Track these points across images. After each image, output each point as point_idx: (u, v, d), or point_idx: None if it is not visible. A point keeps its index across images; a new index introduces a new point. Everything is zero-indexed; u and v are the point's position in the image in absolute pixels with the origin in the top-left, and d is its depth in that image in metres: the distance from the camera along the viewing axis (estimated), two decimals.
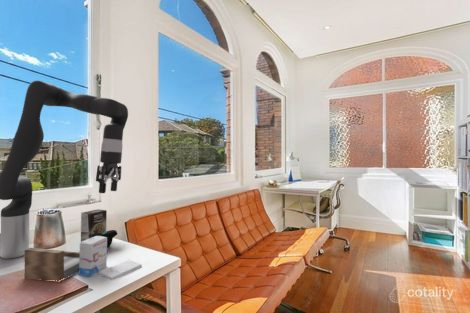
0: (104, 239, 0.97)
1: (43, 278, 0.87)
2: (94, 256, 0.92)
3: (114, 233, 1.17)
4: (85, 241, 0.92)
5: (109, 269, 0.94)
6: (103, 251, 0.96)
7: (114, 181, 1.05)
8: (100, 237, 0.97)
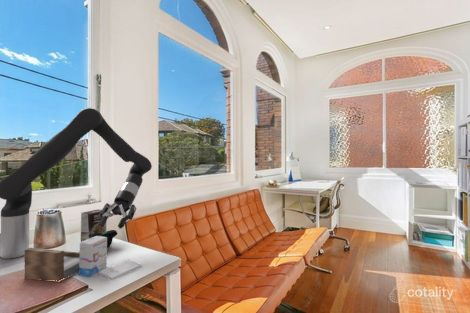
0: (104, 239, 0.97)
1: (43, 278, 0.87)
2: (94, 256, 0.92)
3: (114, 233, 1.17)
4: (85, 241, 0.92)
5: (109, 269, 0.94)
6: (103, 251, 0.96)
7: (106, 217, 1.07)
8: (100, 237, 0.97)
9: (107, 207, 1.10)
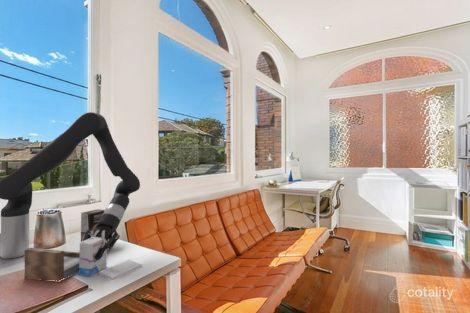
0: None
1: (43, 278, 0.87)
2: (94, 256, 0.92)
3: None
4: (85, 241, 0.92)
5: (109, 269, 0.94)
6: None
7: None
8: (100, 237, 0.97)
9: (89, 234, 0.99)
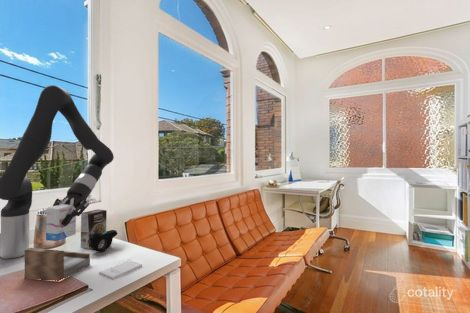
0: None
1: (43, 278, 0.87)
2: (61, 222, 0.92)
3: (114, 233, 1.17)
4: (52, 207, 0.93)
5: (110, 269, 0.94)
6: None
7: None
8: None
9: (58, 202, 1.00)
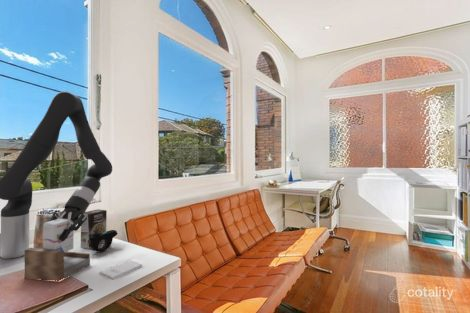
0: None
1: (43, 278, 0.87)
2: (58, 237, 0.91)
3: (114, 233, 1.17)
4: (49, 222, 0.92)
5: (110, 269, 0.94)
6: None
7: None
8: (66, 219, 0.97)
9: (56, 216, 0.99)
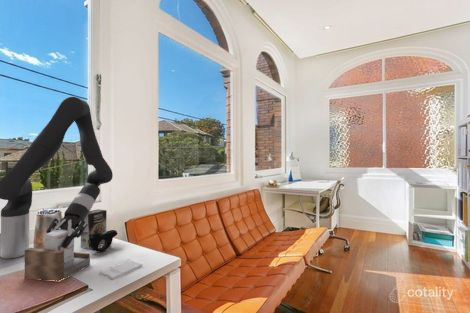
0: None
1: (43, 278, 0.87)
2: (59, 248, 0.91)
3: (114, 233, 1.17)
4: (50, 233, 0.92)
5: (110, 269, 0.94)
6: (70, 243, 0.96)
7: None
8: None
9: (55, 223, 0.99)
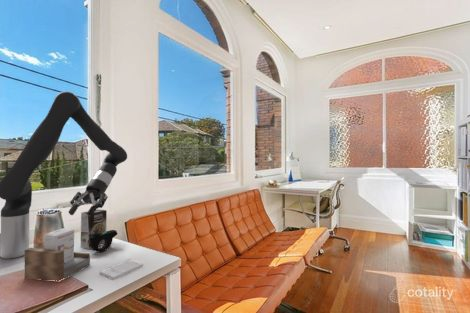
0: (71, 231, 0.96)
1: (43, 278, 0.87)
2: (59, 248, 0.91)
3: (114, 233, 1.17)
4: (50, 233, 0.92)
5: (110, 269, 0.94)
6: (70, 243, 0.96)
7: (76, 206, 1.07)
8: (67, 229, 0.97)
9: (78, 196, 1.10)
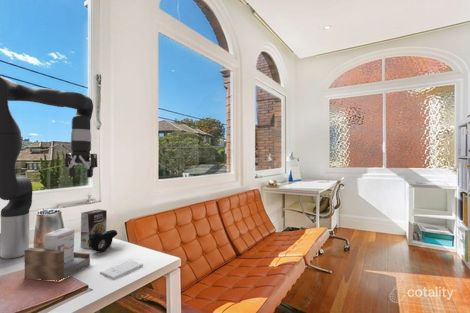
0: (71, 231, 0.96)
1: (43, 278, 0.87)
2: (59, 248, 0.91)
3: (114, 233, 1.17)
4: (50, 233, 0.92)
5: (111, 269, 0.94)
6: (70, 243, 0.96)
7: (73, 167, 1.12)
8: (67, 229, 0.97)
9: (69, 157, 1.12)
